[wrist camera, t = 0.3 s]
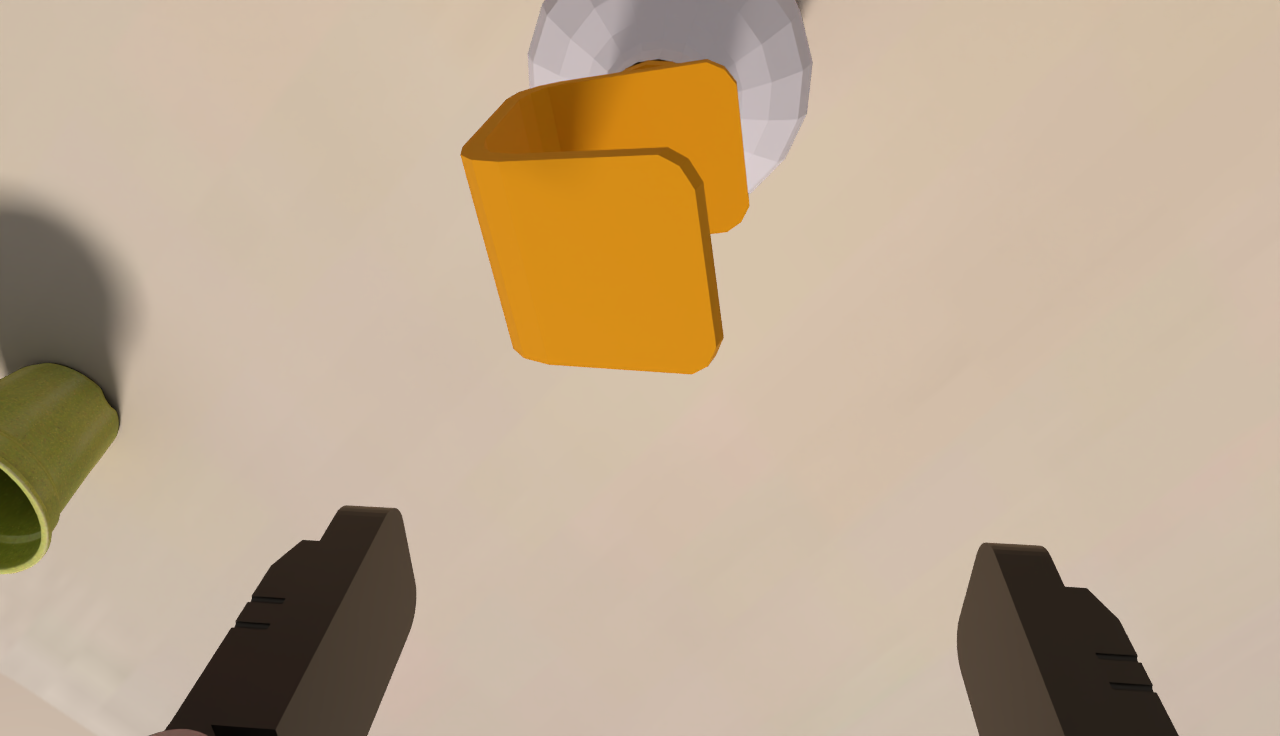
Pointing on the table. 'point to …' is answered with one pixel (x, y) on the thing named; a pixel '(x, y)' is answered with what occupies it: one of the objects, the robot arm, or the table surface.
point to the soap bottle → (633, 172)
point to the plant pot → (45, 453)
